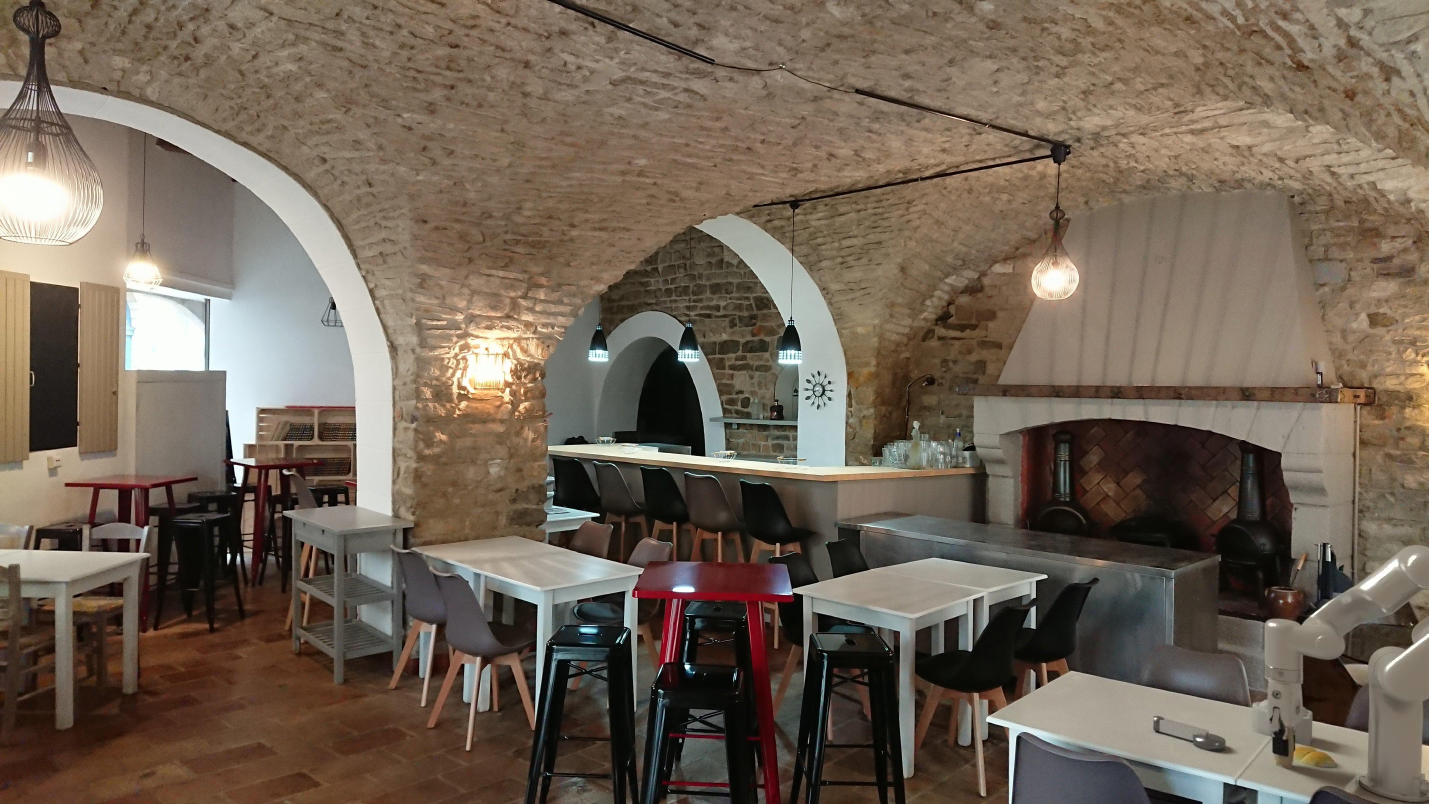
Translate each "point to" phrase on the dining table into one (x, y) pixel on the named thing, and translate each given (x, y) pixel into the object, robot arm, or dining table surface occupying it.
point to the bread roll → (1313, 757)
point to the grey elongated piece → (1190, 734)
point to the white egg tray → (1264, 727)
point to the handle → (1287, 761)
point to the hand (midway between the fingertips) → (1283, 751)
